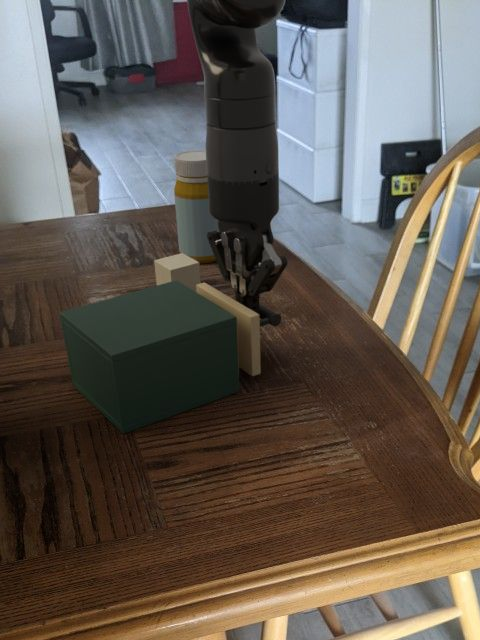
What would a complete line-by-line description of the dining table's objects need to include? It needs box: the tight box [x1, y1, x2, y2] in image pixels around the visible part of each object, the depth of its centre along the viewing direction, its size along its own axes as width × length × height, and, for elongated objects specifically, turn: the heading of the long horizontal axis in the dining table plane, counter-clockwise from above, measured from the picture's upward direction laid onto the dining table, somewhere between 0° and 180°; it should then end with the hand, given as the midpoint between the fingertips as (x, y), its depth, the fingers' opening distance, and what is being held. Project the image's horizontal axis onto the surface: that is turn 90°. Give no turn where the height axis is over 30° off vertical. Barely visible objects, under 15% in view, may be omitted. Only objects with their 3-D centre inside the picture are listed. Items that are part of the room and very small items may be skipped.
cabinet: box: [59, 280, 241, 435], centre depth 86 cm, size 15×13×9 cm
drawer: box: [196, 282, 282, 377], centre depth 89 cm, size 18×11×7 cm, turn 126°
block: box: [153, 253, 202, 292], centre depth 109 cm, size 5×5×5 cm
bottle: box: [173, 149, 219, 265], centre depth 117 cm, size 7×7×15 cm
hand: (248, 321), depth 92 cm, fingers closed
